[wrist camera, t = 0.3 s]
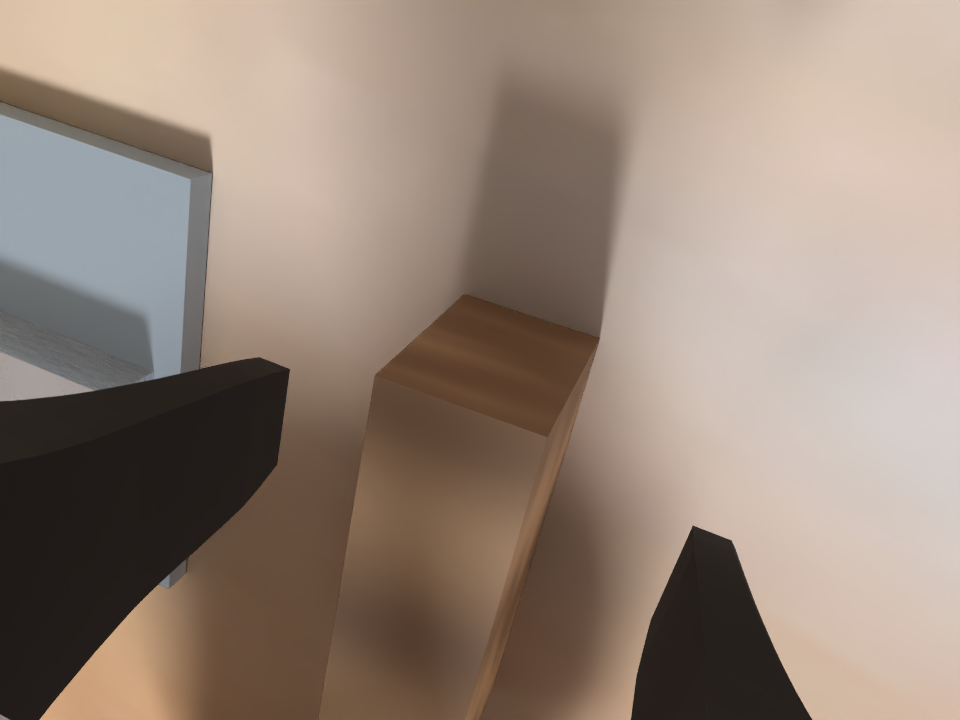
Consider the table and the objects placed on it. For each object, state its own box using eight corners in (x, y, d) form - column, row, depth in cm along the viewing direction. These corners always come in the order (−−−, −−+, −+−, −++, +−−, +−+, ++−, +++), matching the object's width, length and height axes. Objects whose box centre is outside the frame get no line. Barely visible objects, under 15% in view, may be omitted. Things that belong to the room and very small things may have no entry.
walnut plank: (493, 685, 28) (430, 837, 23) (391, 641, 29) (308, 778, 24) (600, 336, 22) (547, 437, 16) (466, 292, 22) (374, 375, 17)
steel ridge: (151, 431, 27) (109, 460, 25) (-13, 363, 28) (-64, 385, 27) (153, 371, 26) (109, 396, 24) (-17, 302, 27) (-71, 322, 25)
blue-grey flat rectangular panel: (185, 572, 31) (168, 589, 30) (-1, 488, 32) (-22, 500, 32) (212, 173, 23) (190, 179, 23) (-29, 92, 25) (-58, 94, 24)
